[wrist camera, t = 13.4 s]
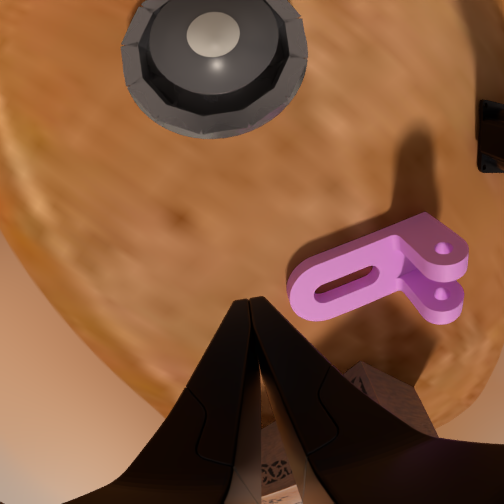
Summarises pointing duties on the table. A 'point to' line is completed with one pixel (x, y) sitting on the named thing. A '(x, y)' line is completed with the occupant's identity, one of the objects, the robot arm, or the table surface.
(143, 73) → the shallow metal dish
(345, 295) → the bracket
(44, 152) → the table surface
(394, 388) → the tissue box cover
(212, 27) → the cap
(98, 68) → the table surface
